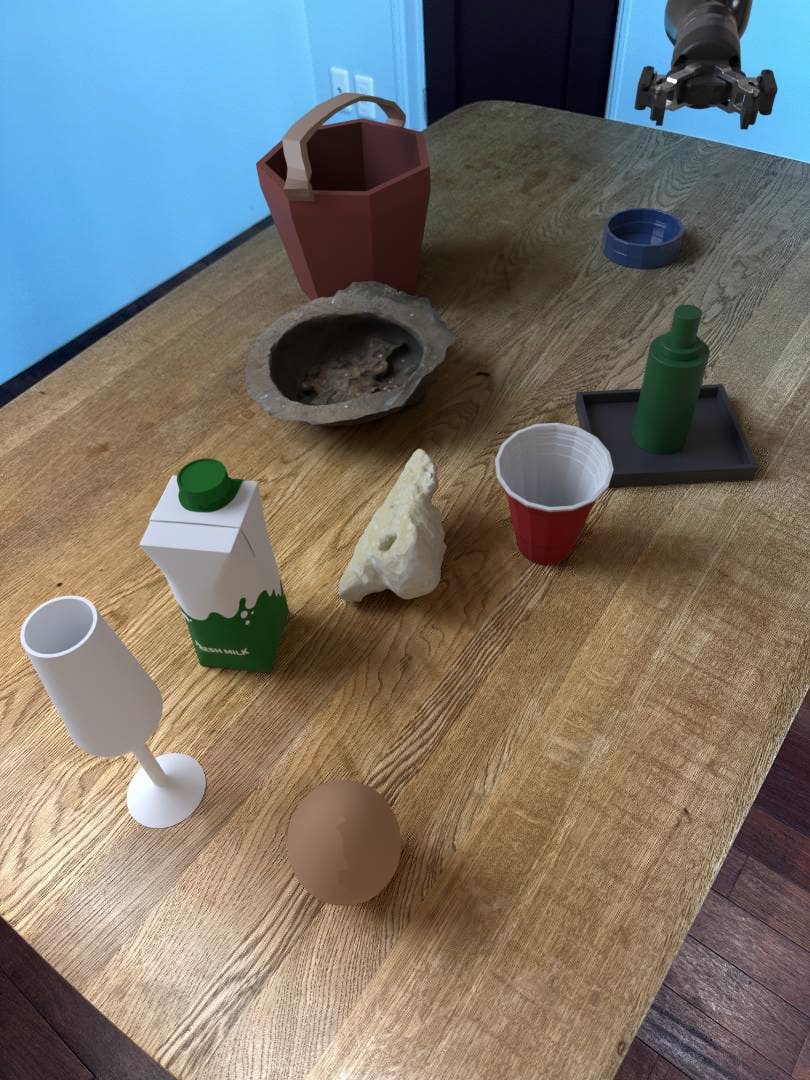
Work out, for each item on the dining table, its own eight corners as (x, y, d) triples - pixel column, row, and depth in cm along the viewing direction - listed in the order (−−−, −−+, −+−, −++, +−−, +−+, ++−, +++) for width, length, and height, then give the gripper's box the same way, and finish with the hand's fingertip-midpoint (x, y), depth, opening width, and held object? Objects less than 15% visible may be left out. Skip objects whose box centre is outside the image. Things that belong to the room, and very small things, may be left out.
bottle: (679, 418, 95) (711, 293, 82) (691, 453, 91) (727, 327, 78) (627, 420, 95) (651, 296, 82) (637, 455, 91) (664, 330, 79)
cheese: (398, 657, 78) (506, 549, 74) (339, 622, 75) (449, 506, 71) (376, 573, 91) (466, 477, 87) (325, 540, 88) (417, 438, 84)
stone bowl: (487, 367, 103) (486, 307, 96) (377, 500, 92) (367, 443, 84) (332, 312, 113) (320, 253, 106) (215, 426, 101) (193, 369, 94)
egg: (407, 816, 66) (398, 753, 57) (402, 925, 60) (392, 873, 52) (306, 814, 66) (283, 751, 58) (292, 922, 61) (264, 869, 53)
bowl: (668, 230, 123) (673, 205, 120) (686, 269, 116) (692, 243, 113) (596, 235, 124) (599, 210, 121) (608, 274, 116) (612, 248, 113)
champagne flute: (213, 752, 71) (125, 582, 53) (197, 829, 66) (95, 672, 48) (137, 752, 71) (25, 583, 53) (117, 828, 67) (-14, 672, 49)
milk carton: (300, 605, 81) (262, 458, 66) (277, 684, 75) (229, 542, 60) (216, 597, 82) (160, 451, 67) (187, 674, 76) (118, 532, 61)
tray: (718, 397, 97) (722, 383, 96) (753, 480, 88) (758, 467, 87) (574, 404, 98) (576, 391, 97) (594, 488, 89) (596, 475, 87)
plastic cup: (486, 581, 81) (488, 498, 72) (497, 503, 88) (500, 418, 79) (596, 592, 79) (613, 509, 70) (599, 512, 86) (614, 426, 77)
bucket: (339, 351, 108) (312, 162, 89) (244, 289, 119) (202, 110, 101) (468, 277, 118) (469, 93, 99) (370, 226, 129) (353, 53, 111)
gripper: (647, 22, 93) (638, 76, 82) (780, 24, 90) (787, 81, 80) (637, 92, 98) (627, 151, 88) (761, 97, 95) (766, 158, 85)
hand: (703, 118), depth 84 cm, fingers open, 8 cm apart
